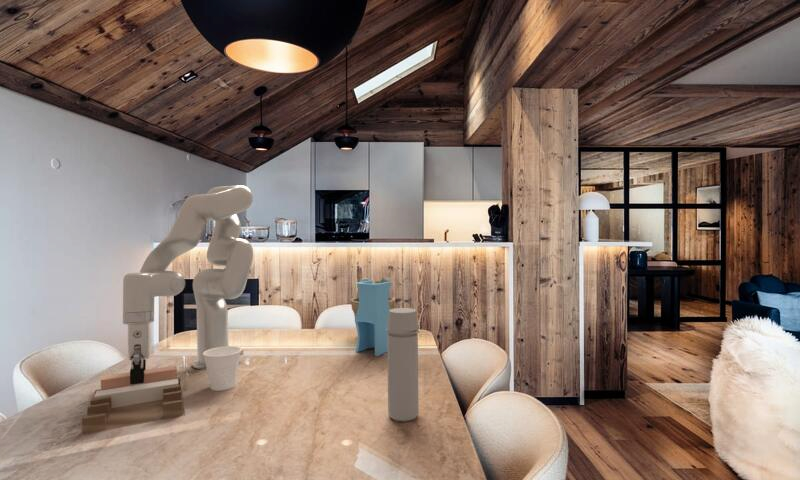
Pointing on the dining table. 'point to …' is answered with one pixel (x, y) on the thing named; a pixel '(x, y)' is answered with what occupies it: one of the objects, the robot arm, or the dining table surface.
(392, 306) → the potted plant
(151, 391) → the grey strip
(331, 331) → the dining table surface
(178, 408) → the rack
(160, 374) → the terracotta strip
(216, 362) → the cup
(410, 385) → the water bottle
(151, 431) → the dining table surface
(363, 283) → the blue arched stand
